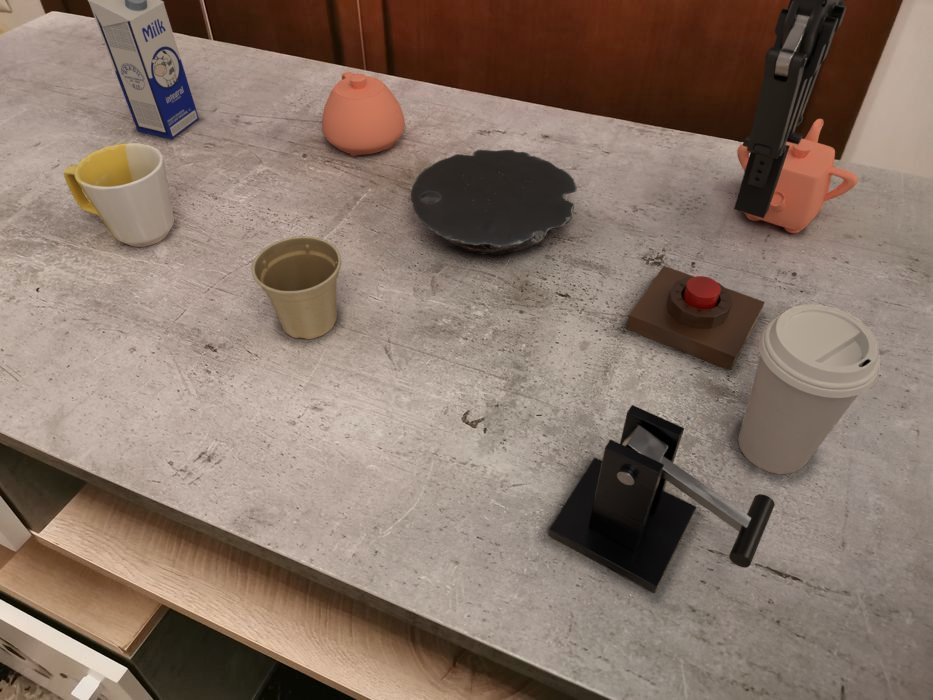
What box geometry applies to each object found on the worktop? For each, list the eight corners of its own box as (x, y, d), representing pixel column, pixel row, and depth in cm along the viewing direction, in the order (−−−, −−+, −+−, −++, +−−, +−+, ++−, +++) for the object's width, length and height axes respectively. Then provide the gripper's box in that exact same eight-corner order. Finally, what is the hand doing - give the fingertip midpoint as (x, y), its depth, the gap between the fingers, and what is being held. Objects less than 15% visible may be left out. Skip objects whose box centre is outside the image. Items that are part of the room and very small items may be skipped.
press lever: (764, 512, 58) (782, 501, 56) (739, 572, 54) (757, 562, 52) (635, 422, 60) (648, 408, 58) (603, 474, 56) (616, 461, 54)
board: (378, 246, 93) (373, 213, 89) (457, 162, 106) (456, 130, 102) (536, 298, 85) (539, 264, 82) (600, 201, 99) (605, 168, 95)
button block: (759, 315, 83) (769, 289, 80) (730, 371, 77) (740, 344, 74) (660, 279, 87) (666, 253, 85) (625, 328, 82) (631, 302, 79)
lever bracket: (694, 513, 65) (729, 425, 56) (654, 594, 60) (686, 512, 51) (593, 464, 69) (610, 374, 60) (547, 535, 64) (559, 449, 55)
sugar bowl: (337, 170, 105) (327, 104, 98) (313, 125, 114) (301, 62, 107) (417, 151, 108) (412, 86, 101) (387, 109, 117) (381, 46, 110)
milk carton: (166, 110, 118) (122, -20, 104) (200, 118, 116) (160, -14, 102) (136, 131, 113) (86, -2, 99) (171, 140, 112) (124, 5, 97)
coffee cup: (750, 496, 66) (802, 389, 56) (705, 416, 73) (745, 306, 62) (845, 478, 68) (915, 369, 57) (793, 400, 74) (847, 290, 63)
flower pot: (367, 310, 84) (358, 251, 78) (318, 362, 79) (304, 303, 73) (303, 284, 88) (289, 226, 81) (251, 333, 82) (232, 274, 76)
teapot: (847, 242, 92) (878, 172, 84) (755, 250, 91) (779, 180, 84) (799, 180, 102) (823, 113, 94) (716, 186, 101) (735, 119, 94)
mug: (203, 223, 97) (180, 153, 89) (148, 267, 90) (117, 196, 83) (128, 197, 101) (99, 128, 94) (70, 237, 95) (34, 167, 87)
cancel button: (721, 295, 80) (725, 283, 79) (710, 314, 78) (714, 302, 77) (690, 283, 81) (693, 271, 80) (678, 302, 79) (681, 290, 78)
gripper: (811, -111, 55) (734, 165, 72) (757, -64, 47) (685, 233, 64) (918, -97, 52) (812, 187, 69) (880, -45, 44) (770, 261, 61)
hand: (751, 209), depth 66 cm, fingers closed
